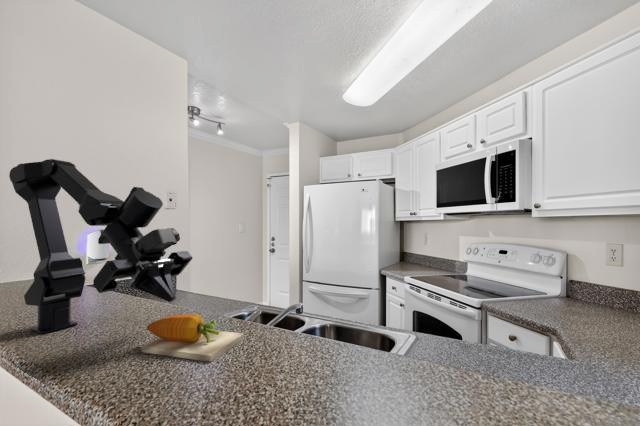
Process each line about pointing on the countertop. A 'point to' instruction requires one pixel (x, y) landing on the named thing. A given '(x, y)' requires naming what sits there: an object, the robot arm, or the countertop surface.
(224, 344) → the cutting board
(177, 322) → the carrot
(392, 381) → the countertop surface
